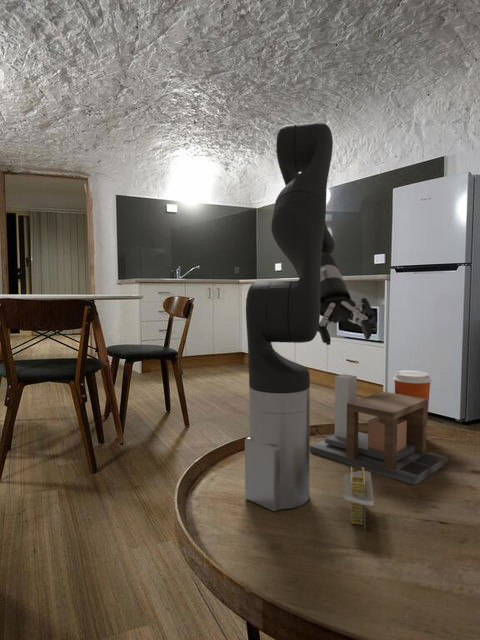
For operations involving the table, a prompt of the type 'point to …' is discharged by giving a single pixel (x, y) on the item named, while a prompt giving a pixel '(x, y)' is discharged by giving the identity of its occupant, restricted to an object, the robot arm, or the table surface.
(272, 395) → the robot arm
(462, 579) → the table surface
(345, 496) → the yellow ladder
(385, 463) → the tunnel
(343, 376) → the sled
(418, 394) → the paper cup
